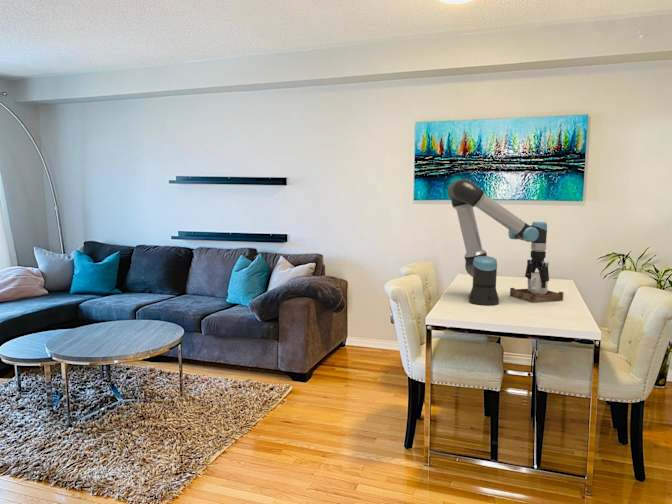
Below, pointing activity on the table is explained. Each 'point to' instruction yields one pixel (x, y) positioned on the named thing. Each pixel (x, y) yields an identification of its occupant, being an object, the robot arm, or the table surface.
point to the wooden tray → (536, 295)
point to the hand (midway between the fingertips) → (536, 292)
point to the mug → (536, 283)
